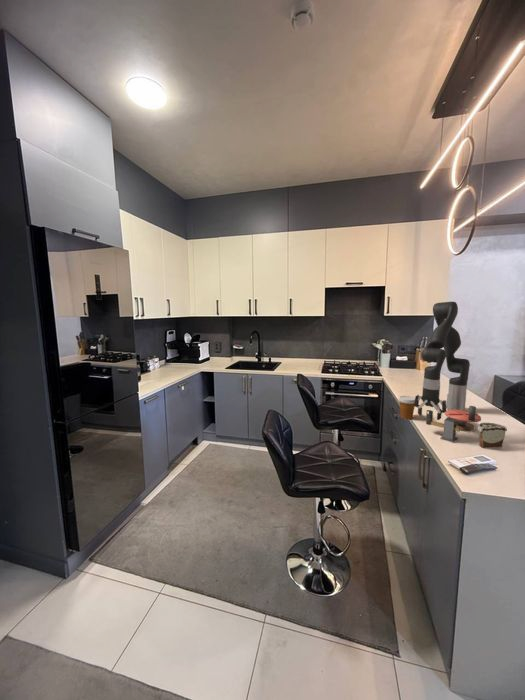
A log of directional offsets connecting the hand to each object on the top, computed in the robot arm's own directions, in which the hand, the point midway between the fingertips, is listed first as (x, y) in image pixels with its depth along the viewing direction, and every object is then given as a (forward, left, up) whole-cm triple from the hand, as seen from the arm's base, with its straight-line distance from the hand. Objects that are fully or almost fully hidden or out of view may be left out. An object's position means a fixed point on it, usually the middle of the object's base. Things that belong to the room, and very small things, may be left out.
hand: (429, 417), depth 149 cm
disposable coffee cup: (-22, 0, -9) cm, 23 cm away
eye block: (+7, +6, -9) cm, 13 cm away
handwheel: (-6, +22, -7) cm, 24 cm away
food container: (+14, +20, -9) cm, 26 cm away
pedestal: (-6, +22, -9) cm, 25 cm away
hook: (+5, +4, -4) cm, 7 cm away
